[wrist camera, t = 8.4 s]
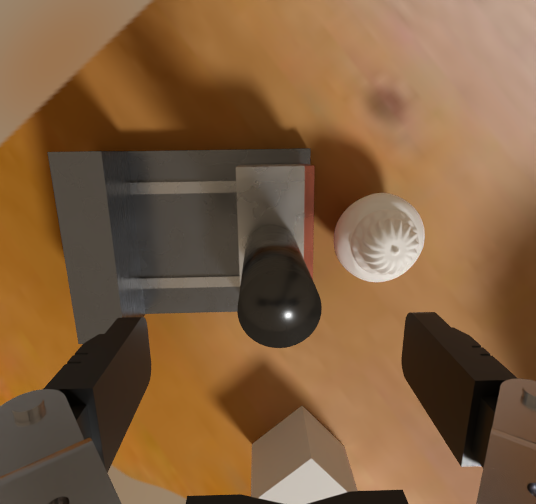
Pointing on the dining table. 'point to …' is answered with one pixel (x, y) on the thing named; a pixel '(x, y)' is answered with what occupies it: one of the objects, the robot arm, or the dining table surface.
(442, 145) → the dining table surface
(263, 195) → the sliding jaw
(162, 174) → the jaw track
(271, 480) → the white cube
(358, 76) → the dining table surface
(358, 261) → the white rounded ridged piece
